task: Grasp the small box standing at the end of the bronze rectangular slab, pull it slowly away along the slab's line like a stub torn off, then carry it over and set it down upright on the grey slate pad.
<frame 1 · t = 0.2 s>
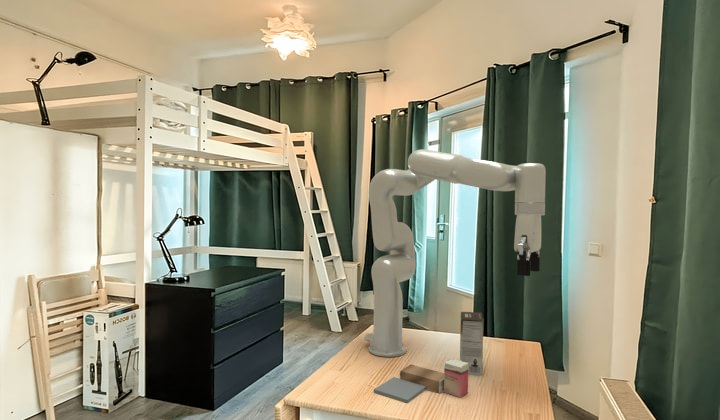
hand: (528, 273, 118), 31 cm above the table, tool pointing down, fingers open, 9 cm apart
coffee box: (470, 369, 130), on the table
small box: (455, 393, 114), on the table
slate pad: (400, 390, 114), on the table
bronze rectangular slab: (424, 383, 119), on the table
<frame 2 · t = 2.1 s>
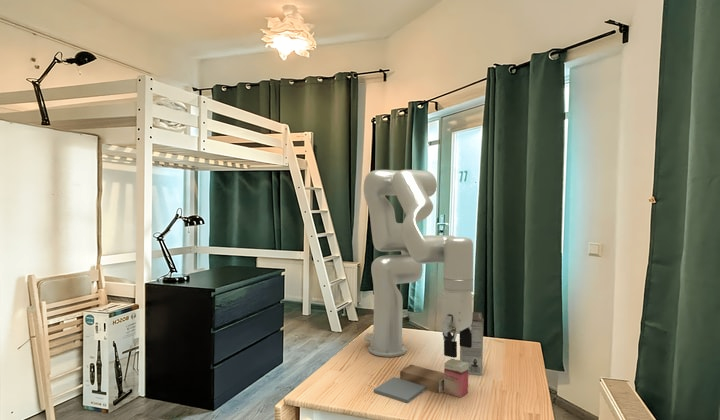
hand: (458, 351, 113), 11 cm above the table, tool pointing down, fingers open, 9 cm apart
nothing on the table moved.
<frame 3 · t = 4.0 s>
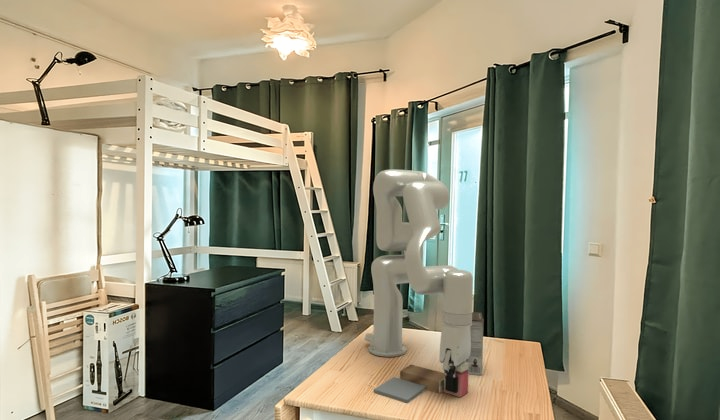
hand: (455, 387, 113), 1 cm above the table, tool pointing down, fingers closed on small box, 4 cm apart
small box: (455, 393, 114), on the table, touching gripper
everything else where it was.
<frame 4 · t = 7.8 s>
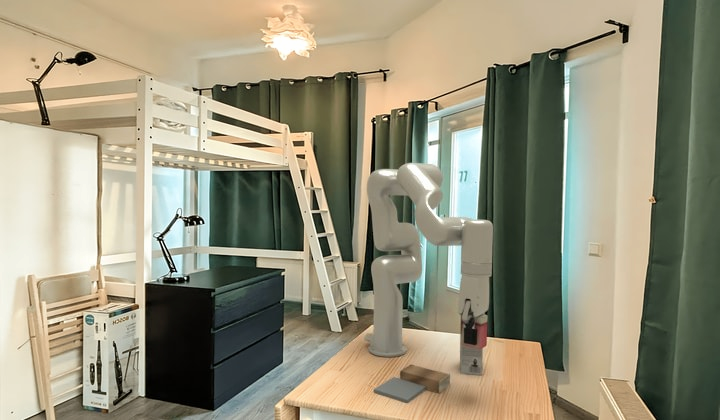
hand: (474, 340, 110), 15 cm above the table, tool pointing down, fingers closed on small box, 4 cm apart
small box: (474, 346, 110), point 13 cm above the table, touching gripper
everything else where it was.
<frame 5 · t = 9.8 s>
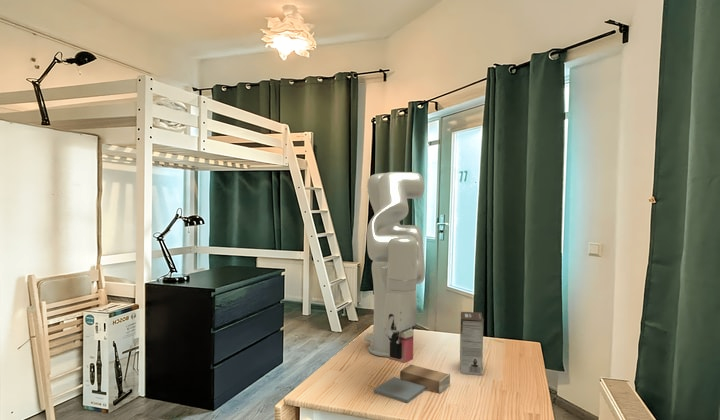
hand: (400, 354, 114), 10 cm above the table, tool pointing down, fingers closed on small box, 4 cm apart
small box: (401, 360, 114), point 8 cm above the table, touching gripper
everything else where it was.
when the fingers open (3 cm above the table, at t = 11.6 s): small box drops 1 cm, resting on slate pad.
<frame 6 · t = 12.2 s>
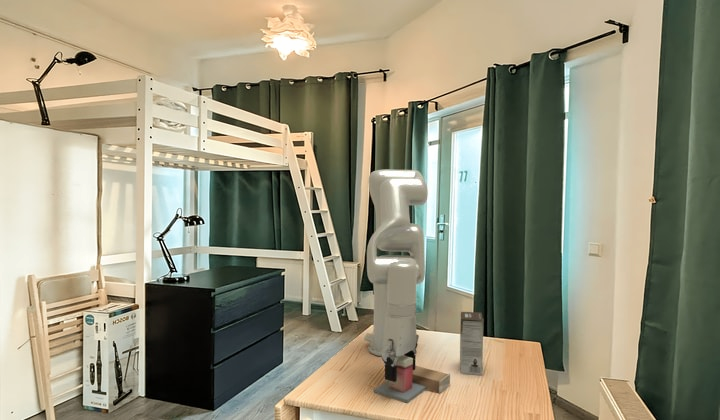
hand: (400, 374, 114), 4 cm above the table, tool pointing down, fingers open, 9 cm apart
small box: (400, 388, 114), point 1 cm above the table, touching slate pad
everything else where it was.
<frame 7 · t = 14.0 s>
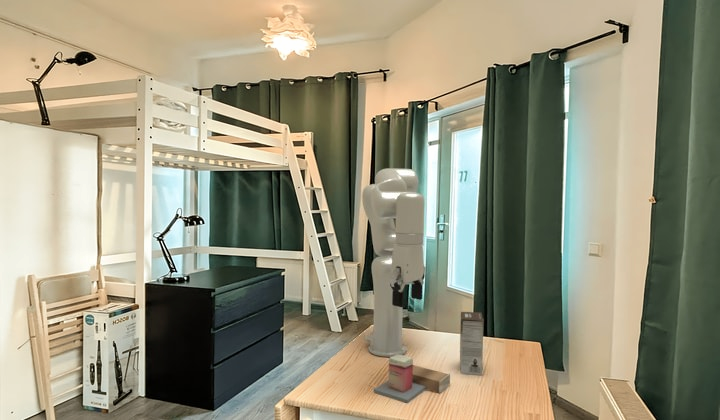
hand: (407, 302, 118), 22 cm above the table, tool pointing down, fingers open, 9 cm apart
nothing on the table moved.
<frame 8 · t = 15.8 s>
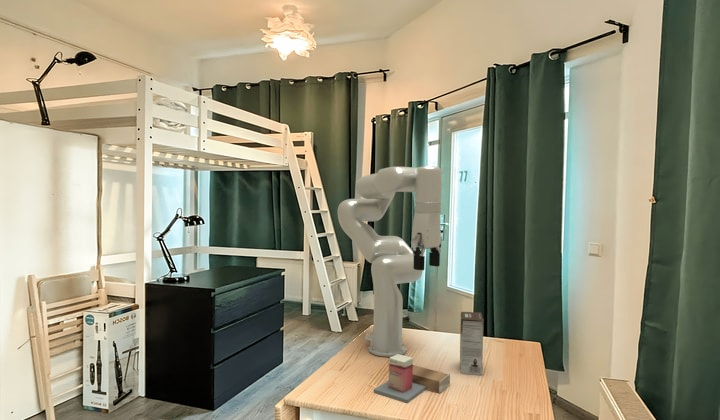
hand: (426, 267, 127), 30 cm above the table, tool pointing down, fingers open, 9 cm apart
nothing on the table moved.
at the end: small box inside the target area on the slate pad (0.1 cm from its centre), point 0.6 cm above the slate pad's base; small box tilted 0°; small box moved 14.4 cm from its start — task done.
